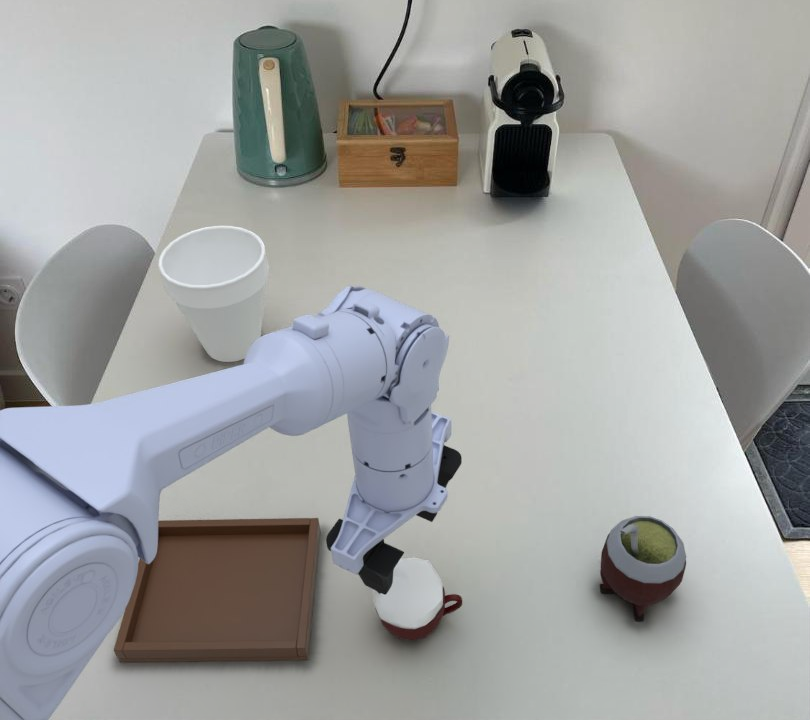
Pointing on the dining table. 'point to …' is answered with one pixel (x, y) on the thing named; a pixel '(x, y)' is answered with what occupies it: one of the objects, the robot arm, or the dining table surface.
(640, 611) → the mate gourd
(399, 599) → the cocoa
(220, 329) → the cup
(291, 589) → the tray
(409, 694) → the dining table surface
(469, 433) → the dining table surface
